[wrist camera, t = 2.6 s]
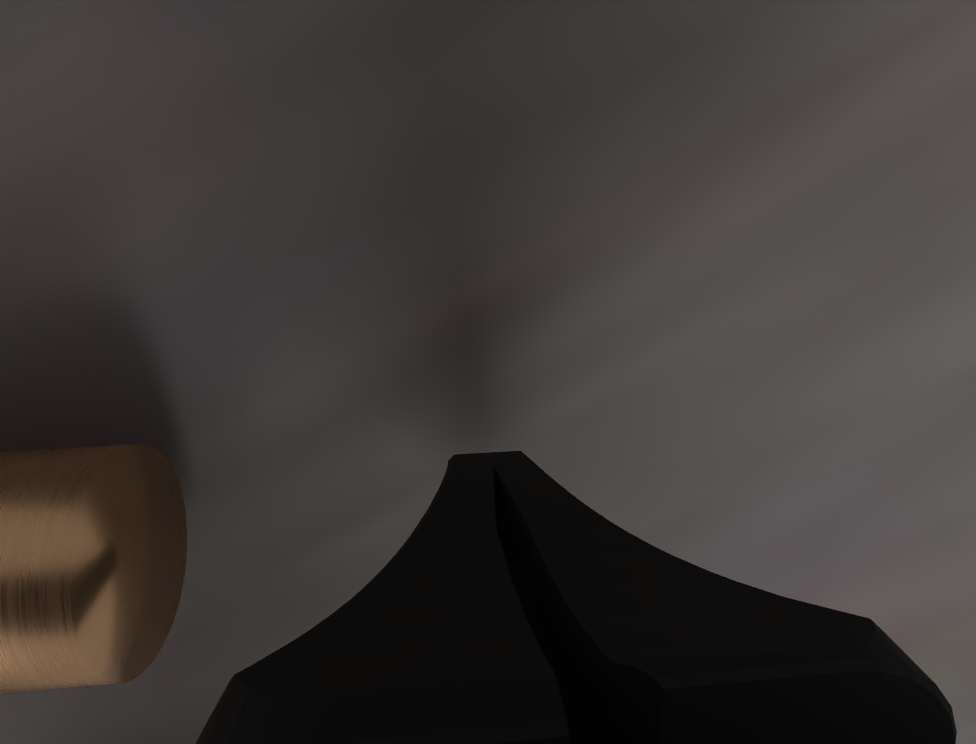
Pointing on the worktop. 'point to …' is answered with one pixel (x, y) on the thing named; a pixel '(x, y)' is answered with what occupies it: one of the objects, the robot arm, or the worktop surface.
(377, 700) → the robot arm
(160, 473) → the tube
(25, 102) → the worktop surface
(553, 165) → the worktop surface
